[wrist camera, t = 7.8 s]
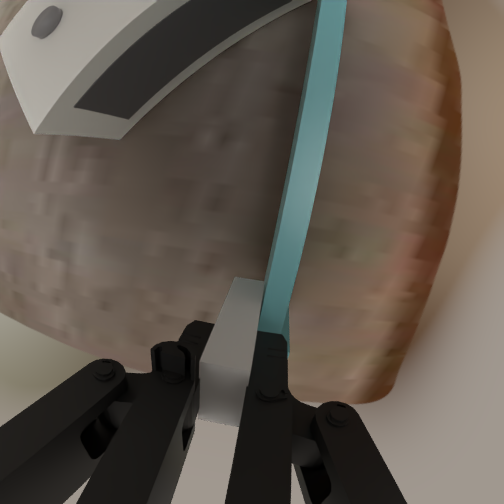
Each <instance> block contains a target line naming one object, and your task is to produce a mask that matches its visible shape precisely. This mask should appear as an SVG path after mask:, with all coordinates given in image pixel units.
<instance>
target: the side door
mask: <svg viewBox="0 0 504 504" xmlns="http://www.w3.org/2000/svg"><path fill="white" fill-rule="evenodd" d="M346 3H347V0H318V2H317V8H316V14H315V20H314V26H313V32H312V38H311V44H310V50H309V56H308V61H307V67H306V73H305V78H304V84H303V89H302V95H301V100H300V106H299V111H298V117H297V122H296V127H295V132H294V138H293V143H292V148H291V153H290V158H289V163H288V169H287V174H286V179H285V184H284V189H283V194H282V199H281V203H280V208H279V213H278V218H277V223H276V228H275V233H274V237H273V242H272V247H271V252H270V256H269V261H268V266H267V270H266V275H265V280H264V281H265V283H264V289H263V296H262V303H261V309H260V316H259V322H258V329H257V331H264V332H270V333H277V334H282V335H283V336H284V338H285V339H286V341H287V348H288V351H287V352H288V356H289V353H290V346H289V302H290V298H291V294H292V291H293V287H294V283H295V279H296V275H297V271H298V267H299V263H300V259H301V255H302V251H303V247H304V243H305V238H306V234H307V230H308V226H309V221H310V217H311V212H312V208H313V203H314V199H315V194H316V189H317V185H318V180H319V175H320V170H321V165H322V160H323V155H324V150H325V145H326V139H327V134H328V129H329V123H330V117H331V112H332V106H333V100H334V94H335V87H336V81H337V74H338V68H339V61H340V53H341V46H342V38H343V30H344V22H345V13H346ZM287 359H288V358H287Z"/></svg>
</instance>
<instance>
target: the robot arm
mask: <svg viewBox="0 0 504 504" xmlns="http://www.w3.org/2000/svg"><path fill="white" fill-rule="evenodd" d="M264 283H265V281H259V280H253V279H247V278H240V277H234V280H233V282H232V285H231V287H230V289H229V292H228V294H227V297H226V299H225V301H224V304H223V306H222V308H221V311H220V313H219V316H218V318H217V320H216V323H215V324H212V323H207V322H202V321H197V320H195V321H193V322H192V323H190V324H189V325H187V326H186V328H185V329H184V331H183V333H182V335H181V336H180V338H179V341H177V342H175V341H167V342H161V343H159V344H156V345H155V346H154V347H152V348H151V361H152V372H150V373H142V374H140V373H126V372H125V369H124V367H123V365H121V364H120V363H119V362H117V361H115V360H112V359H99V360H95V361H93V362H91V363H89V364H88V365H87V366H85V367H84V368H82V369H81V370H80V371H78V372H77V373H75V374H74V375H72V376H71V377H70V378H68V379H67V380H65V381H64V382H63V383H61V384H60V385H58V386H57V387H56V388H54V389H53V390H51V391H50V392H49V393H47V394H46V395H44V396H43V397H42V398H40V399H39V400H37V401H36V402H35V403H33V404H32V405H30V406H29V407H28V408H26V409H25V410H23V411H22V412H21V413H19V414H18V415H16V416H15V417H14V418H12V419H11V420H9V421H8V422H7V423H5V424H4V425H2V426H1V427H0V504H63V503H64V502H65V501H66V500H67V499H68V498H69V497H70V496H71V495H72V494H73V493H74V492H76V490H78V488H80V487H81V486H82V485H83V484H84V482H86V481H87V480H88V479H89V478H90V479H89V481H88V483H87V485H86V487H85V489H84V490H83V492H82V494H81V496H80V498H79V499H78V501H77V503H76V504H171V500H172V498H173V494H174V492H175V489H176V486H177V483H178V480H179V477H180V474H181V471H182V468H183V465H184V461H185V459H186V455H187V453H188V449H189V446H190V443H191V440H192V437H193V434H194V431H195V420H196V417H197V414H198V419H201V420H206V421H210V422H215V423H220V424H225V425H231V426H237V427H239V432H238V437H237V442H236V447H235V453H234V458H233V464H232V469H231V474H230V479H229V484H228V489H227V494H226V499H225V504H290V503H291V502H290V501H291V466H292V465H291V464H292V463H293V464H294V468H295V471H296V475H297V478H298V481H299V485H300V488H301V491H302V494H303V498H304V501H305V504H407V502H406V501H405V499H404V497H403V495H402V493H401V491H400V490H399V488H398V486H397V484H396V482H395V480H394V478H393V476H392V474H391V473H390V471H389V469H388V467H387V465H386V464H385V462H384V460H383V458H382V456H381V455H380V452H379V451H378V449H377V447H376V445H375V443H374V441H373V440H372V438H371V436H370V434H369V432H368V431H367V429H366V427H365V425H364V423H363V422H362V420H361V418H360V416H359V414H358V413H357V412H356V411H355V409H354V408H353V407H351V406H349V405H348V404H346V403H342V402H339V401H330V402H326V403H323V404H322V405H320V406H319V407H318V408H316V407H313V406H310V405H307V404H304V403H302V402H300V401H298V400H297V399H295V398H294V397H293V396H292V395H291V393H290V390H289V389H288V360H287V358H288V352H287V351H288V348H287V341H286V339H285V338H284V336H283V335H282V334H277V333H270V332H264V331H257V329H258V322H259V316H260V309H261V303H262V296H263V289H264Z"/></svg>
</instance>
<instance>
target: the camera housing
mask: <svg viewBox="0 0 504 504" xmlns="http://www.w3.org/2000/svg"><path fill="white" fill-rule="evenodd" d="M310 1H312V0H28V1H27V2H26V3H25V4H24V6H23V7H22V8H21V9H20V11H19V12H18V13H17V14H16V16H15V17H14V18H13V20H12V21H11V22H10V24H9V25H8V26H7V28H6V29H5V31H4V32H3V33H2V35H1V36H0V51H1V54H2V58H3V61H4V64H5V67H6V69H7V72H8V75H9V78H10V80H11V83H12V86H13V88H14V91H15V93H16V96H17V98H18V100H19V103H20V105H21V107H22V110H23V112H24V114H25V117H26V119H27V121H28V123H29V125H30V127H31V129H32V131H33V133H34V134H50V135H69V136H84V137H96V138H106V139H116V140H121V139H122V137H123V136H124V135H125V134H126V133H127V132H128V131H129V130H130V129H131V128H132V127H133V126H134V125H135V124H136V123H137V122H138V121H139V120H140V119H141V118H142V117H143V116H145V115H146V114H147V113H148V112H149V111H150V110H151V109H152V108H153V107H154V106H155V105H156V104H157V103H159V102H160V101H161V100H162V99H163V98H164V97H165V96H166V95H168V94H169V93H170V92H171V91H172V90H173V89H175V88H176V87H177V86H178V85H179V84H181V83H182V82H183V81H184V80H186V79H187V78H188V77H189V76H191V75H192V74H193V73H194V72H196V71H197V70H198V69H200V68H201V67H202V66H204V65H205V64H206V63H208V62H209V61H210V60H212V59H213V58H214V57H216V56H217V55H219V54H220V53H221V52H223V51H224V50H226V49H227V48H229V47H230V46H232V45H233V44H235V43H236V42H238V41H239V40H241V39H242V38H244V37H246V36H247V35H249V34H250V33H252V32H254V31H255V30H257V29H259V28H260V27H262V26H264V25H265V24H267V23H269V22H271V21H273V20H274V19H276V18H278V17H280V16H282V15H284V14H285V13H287V12H289V11H291V10H293V9H295V8H297V7H299V6H301V5H303V4H305V3H308V2H310Z"/></svg>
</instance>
